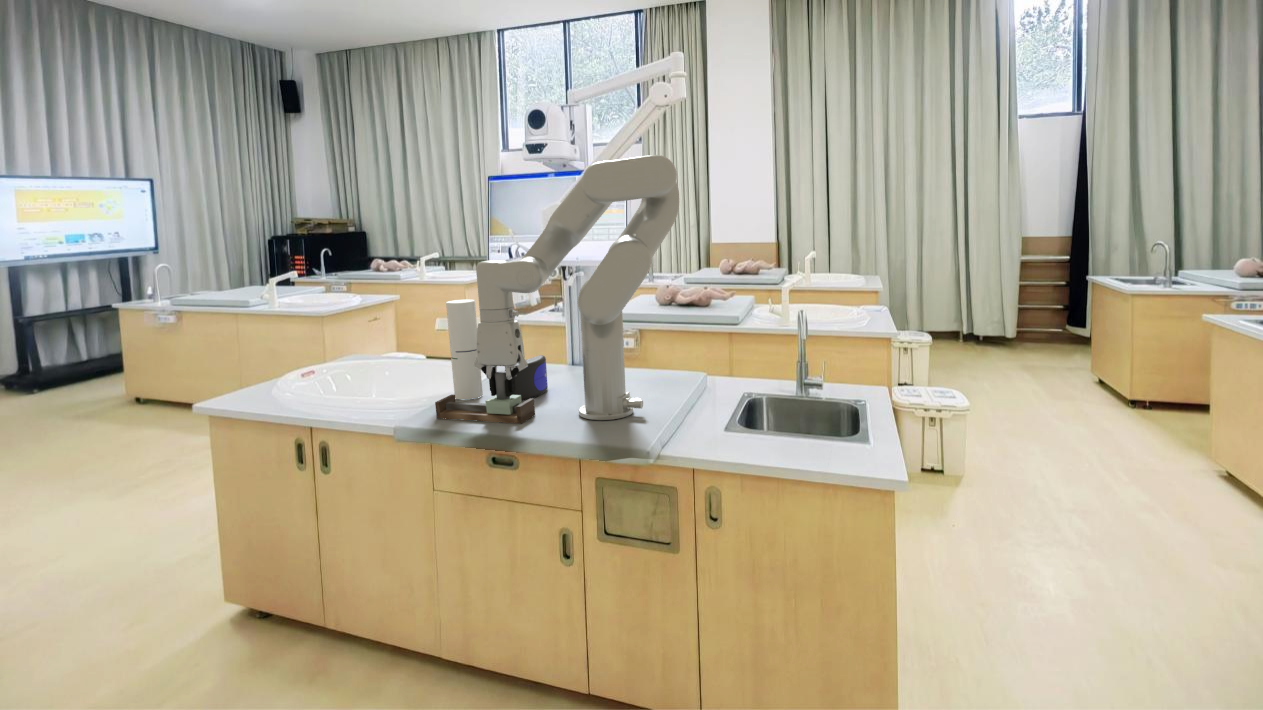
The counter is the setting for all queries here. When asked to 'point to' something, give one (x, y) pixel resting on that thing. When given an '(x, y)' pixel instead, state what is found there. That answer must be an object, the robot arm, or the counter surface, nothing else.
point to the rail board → (482, 411)
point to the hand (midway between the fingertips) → (503, 394)
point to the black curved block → (532, 378)
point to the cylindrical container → (464, 348)
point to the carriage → (502, 397)
